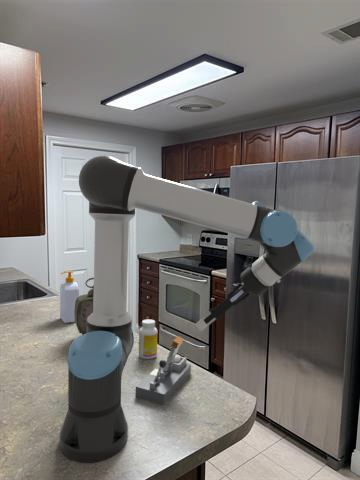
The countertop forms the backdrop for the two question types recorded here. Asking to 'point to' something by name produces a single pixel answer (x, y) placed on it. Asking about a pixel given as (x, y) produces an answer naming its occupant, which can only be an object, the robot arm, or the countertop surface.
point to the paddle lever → (172, 354)
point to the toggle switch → (162, 364)
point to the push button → (177, 359)
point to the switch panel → (163, 382)
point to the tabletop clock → (84, 309)
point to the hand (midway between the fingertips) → (198, 327)
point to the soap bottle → (68, 298)
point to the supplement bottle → (148, 339)
